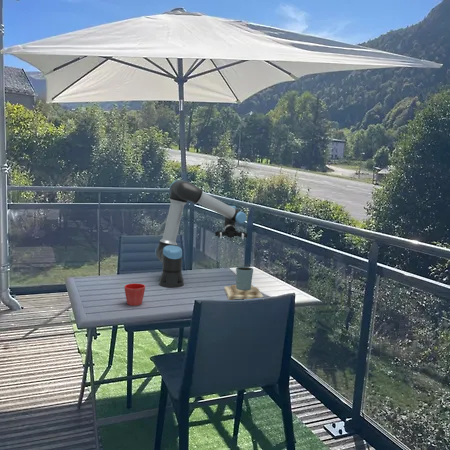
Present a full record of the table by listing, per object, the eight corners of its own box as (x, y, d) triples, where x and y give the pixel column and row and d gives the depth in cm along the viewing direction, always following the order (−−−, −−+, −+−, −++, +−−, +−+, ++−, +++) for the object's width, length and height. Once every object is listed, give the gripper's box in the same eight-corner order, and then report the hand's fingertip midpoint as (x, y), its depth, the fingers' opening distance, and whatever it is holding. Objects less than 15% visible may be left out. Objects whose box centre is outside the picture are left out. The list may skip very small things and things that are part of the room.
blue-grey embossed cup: (233, 289, 261) (235, 269, 259) (236, 285, 271) (237, 265, 269) (251, 291, 259) (252, 271, 258) (253, 286, 269) (254, 267, 268)
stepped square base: (228, 299, 254) (229, 292, 254) (224, 289, 274) (224, 283, 274) (263, 300, 257) (263, 293, 257) (256, 290, 277) (256, 283, 276)
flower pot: (121, 301, 242) (122, 284, 240) (141, 299, 247) (141, 282, 246) (127, 307, 233) (127, 289, 231) (147, 305, 238) (147, 287, 236)
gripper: (248, 237, 297) (252, 243, 276) (211, 236, 296) (211, 241, 275) (249, 226, 296) (252, 231, 275) (211, 224, 295) (212, 229, 274)
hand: (232, 236), depth 275 cm, fingers open, 13 cm apart
